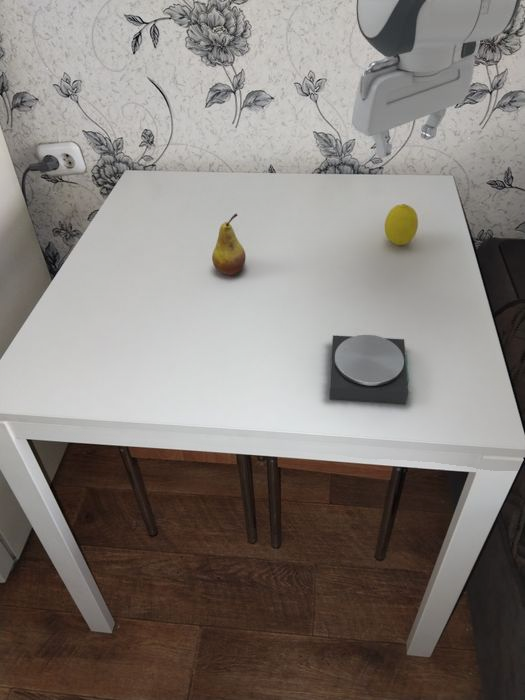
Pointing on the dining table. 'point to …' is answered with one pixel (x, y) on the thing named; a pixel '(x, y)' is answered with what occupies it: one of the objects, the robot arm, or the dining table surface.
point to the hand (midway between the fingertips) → (405, 146)
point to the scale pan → (369, 360)
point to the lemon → (401, 224)
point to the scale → (377, 394)
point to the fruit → (228, 251)
